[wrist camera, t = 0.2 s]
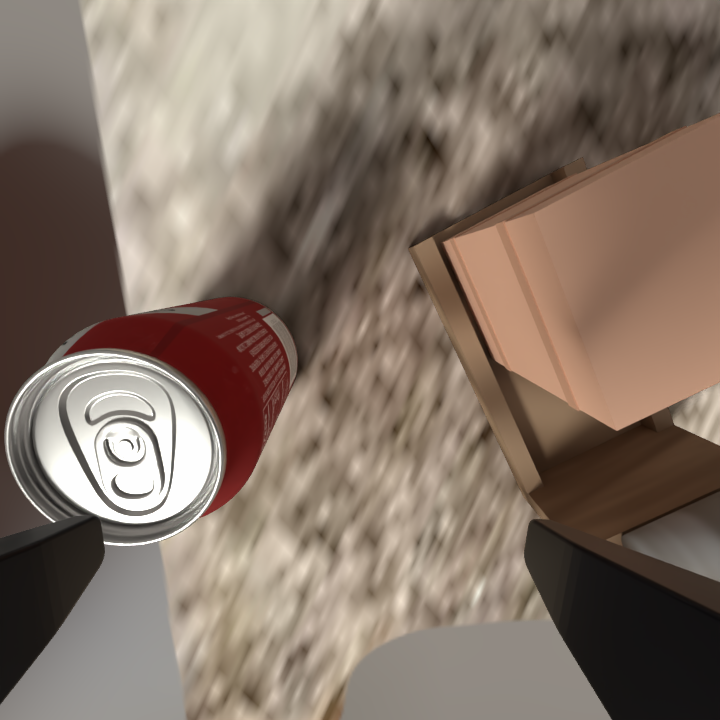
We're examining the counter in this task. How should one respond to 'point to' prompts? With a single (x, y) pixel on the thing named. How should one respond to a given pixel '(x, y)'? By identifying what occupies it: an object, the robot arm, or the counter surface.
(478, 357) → the bay
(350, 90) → the counter surface
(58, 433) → the soda can
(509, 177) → the counter surface
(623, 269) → the pink box
